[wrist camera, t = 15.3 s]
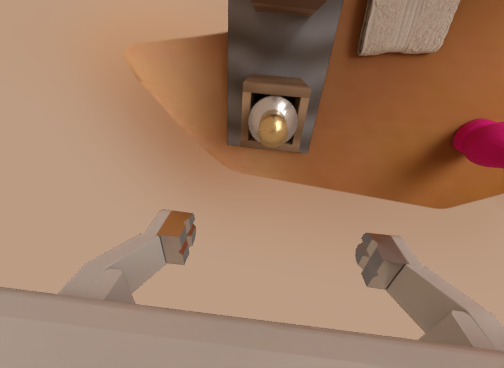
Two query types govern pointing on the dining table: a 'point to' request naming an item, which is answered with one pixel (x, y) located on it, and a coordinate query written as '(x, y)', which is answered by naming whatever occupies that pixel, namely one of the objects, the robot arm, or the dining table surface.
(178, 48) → the dining table surface
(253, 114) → the plunger
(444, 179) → the dining table surface
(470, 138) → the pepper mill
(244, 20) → the grey holder stand
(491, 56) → the dining table surface
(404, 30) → the washcloth
